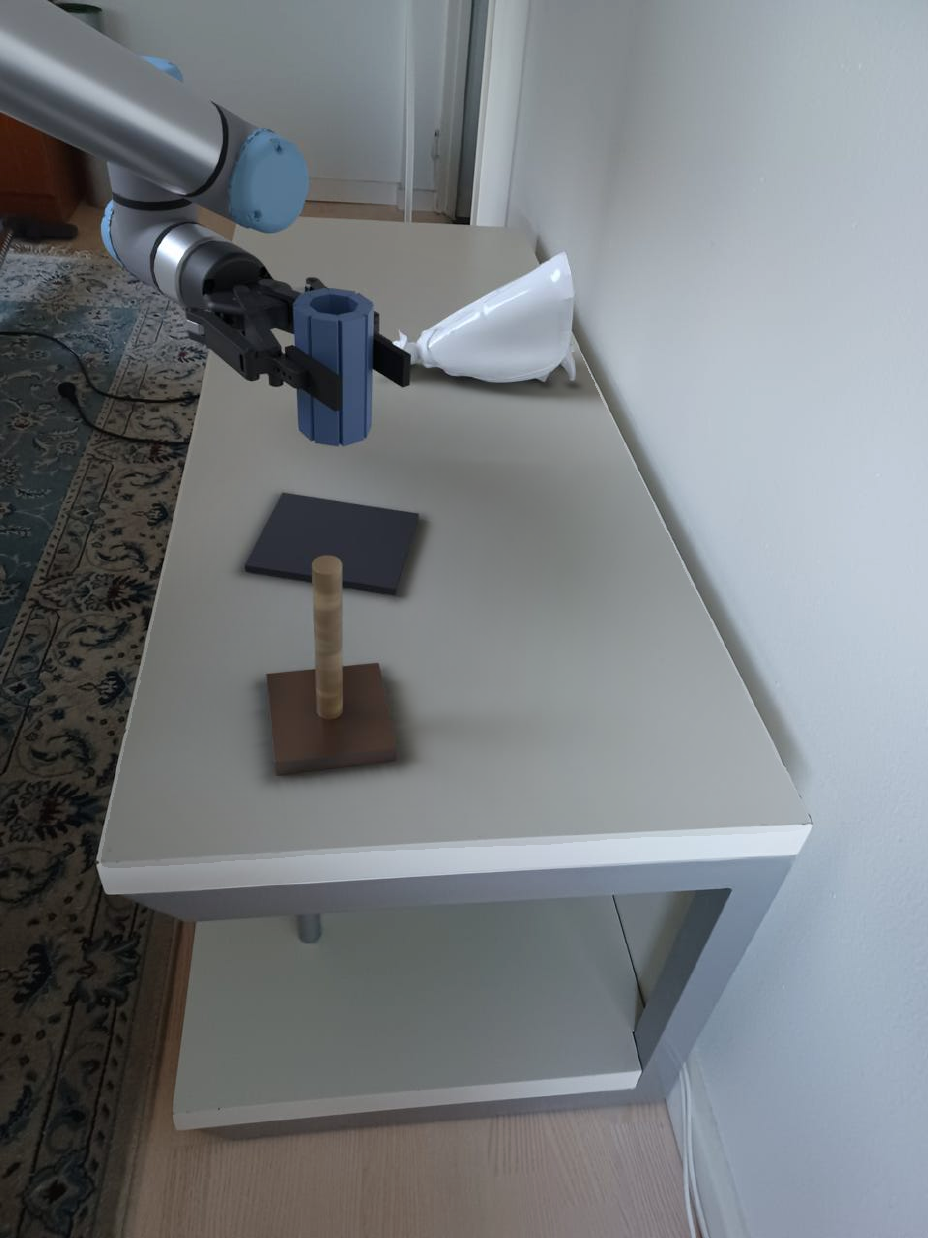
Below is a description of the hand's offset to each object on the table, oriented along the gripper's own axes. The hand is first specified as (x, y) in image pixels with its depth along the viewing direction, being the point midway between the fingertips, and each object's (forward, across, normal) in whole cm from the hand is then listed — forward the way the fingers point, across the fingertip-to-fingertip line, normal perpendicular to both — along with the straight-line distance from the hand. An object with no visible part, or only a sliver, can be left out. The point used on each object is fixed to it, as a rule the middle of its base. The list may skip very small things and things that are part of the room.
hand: (373, 382), depth 71 cm
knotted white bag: (-24, -36, -20) cm, 47 cm away
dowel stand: (+13, +14, -19) cm, 27 cm away
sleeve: (-5, 0, -6) cm, 8 cm away
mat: (-5, 0, -19) cm, 20 cm away
